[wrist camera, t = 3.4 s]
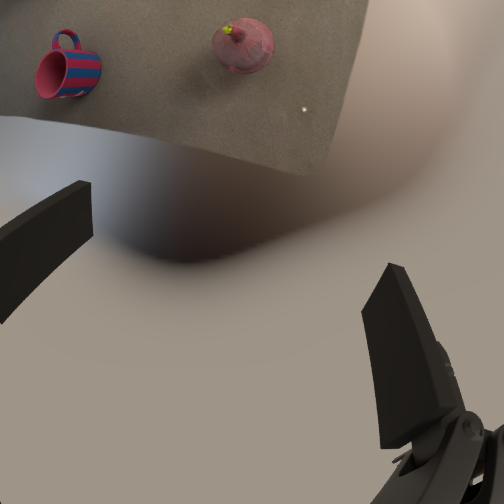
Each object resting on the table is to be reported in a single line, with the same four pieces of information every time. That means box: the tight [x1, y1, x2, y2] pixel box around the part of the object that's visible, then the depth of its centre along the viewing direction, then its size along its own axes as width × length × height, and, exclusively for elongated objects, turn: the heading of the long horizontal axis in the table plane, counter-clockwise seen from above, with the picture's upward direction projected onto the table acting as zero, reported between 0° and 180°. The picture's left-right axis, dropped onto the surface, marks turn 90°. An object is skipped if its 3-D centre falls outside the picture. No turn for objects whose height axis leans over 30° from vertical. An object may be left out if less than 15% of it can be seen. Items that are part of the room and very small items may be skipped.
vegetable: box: [212, 18, 274, 74], centre depth 21 cm, size 6×6×10 cm
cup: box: [35, 29, 101, 99], centre depth 23 cm, size 7×10×7 cm
